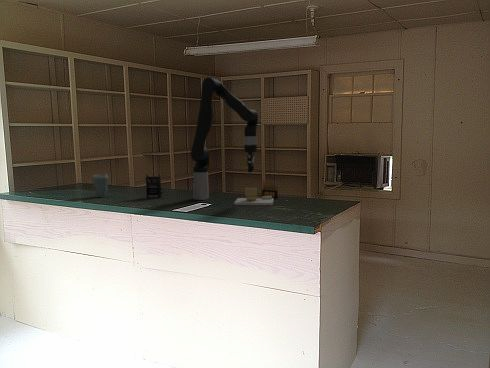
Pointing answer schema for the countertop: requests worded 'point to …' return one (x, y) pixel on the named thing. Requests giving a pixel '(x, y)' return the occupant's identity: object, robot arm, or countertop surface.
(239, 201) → the base plate
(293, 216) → the countertop surface
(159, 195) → the geiger counter
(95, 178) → the disposable coffee cup
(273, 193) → the ammunition clip
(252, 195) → the levelling knob
